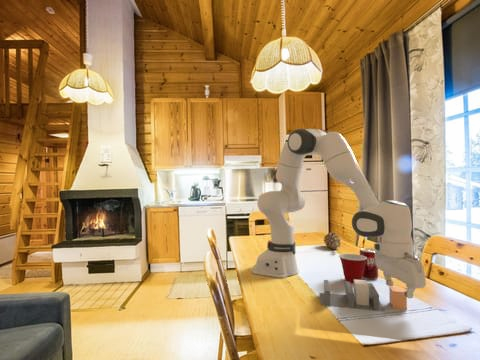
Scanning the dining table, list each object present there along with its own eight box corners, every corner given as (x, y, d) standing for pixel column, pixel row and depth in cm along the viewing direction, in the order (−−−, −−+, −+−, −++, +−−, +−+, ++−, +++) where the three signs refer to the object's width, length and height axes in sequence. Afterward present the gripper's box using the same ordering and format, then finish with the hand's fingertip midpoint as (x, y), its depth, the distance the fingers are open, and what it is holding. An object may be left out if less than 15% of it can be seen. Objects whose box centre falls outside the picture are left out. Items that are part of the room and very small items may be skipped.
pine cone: (320, 245, 173) (320, 230, 173) (335, 245, 174) (334, 230, 174) (333, 255, 151) (333, 237, 151) (350, 254, 152) (349, 237, 152)
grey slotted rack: (320, 309, 89) (319, 290, 89) (319, 296, 99) (319, 279, 99) (385, 316, 84) (385, 295, 84) (377, 301, 94) (377, 283, 94)
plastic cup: (365, 280, 113) (365, 252, 113) (369, 290, 103) (368, 260, 103) (339, 278, 117) (338, 251, 117) (339, 287, 106) (339, 258, 106)
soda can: (380, 280, 113) (379, 252, 113) (362, 279, 114) (361, 252, 114) (375, 274, 120) (374, 248, 120) (358, 273, 122) (357, 247, 122)
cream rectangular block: (356, 304, 89) (355, 283, 89) (354, 299, 93) (353, 279, 93) (369, 305, 88) (368, 284, 88) (366, 300, 92) (366, 280, 92)
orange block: (393, 312, 86) (392, 291, 86) (389, 306, 90) (389, 286, 90) (407, 313, 85) (406, 292, 85) (402, 308, 89) (402, 287, 89)
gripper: (430, 257, 77) (432, 305, 77) (387, 242, 98) (388, 279, 97) (410, 258, 77) (412, 306, 77) (370, 243, 97) (372, 280, 97)
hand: (398, 291), depth 87 cm, fingers open, 8 cm apart
